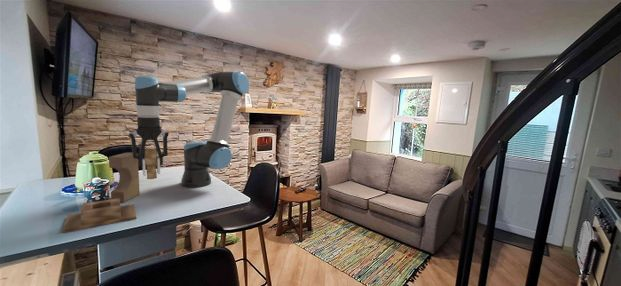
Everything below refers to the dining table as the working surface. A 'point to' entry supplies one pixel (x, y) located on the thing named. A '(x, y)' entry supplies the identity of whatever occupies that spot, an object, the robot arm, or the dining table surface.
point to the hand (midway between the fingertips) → (151, 173)
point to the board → (77, 219)
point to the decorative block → (125, 176)
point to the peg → (151, 162)
